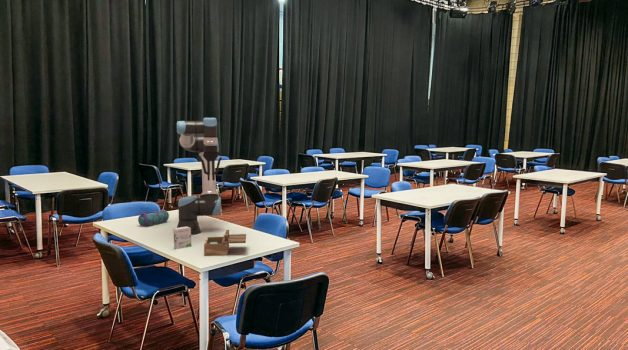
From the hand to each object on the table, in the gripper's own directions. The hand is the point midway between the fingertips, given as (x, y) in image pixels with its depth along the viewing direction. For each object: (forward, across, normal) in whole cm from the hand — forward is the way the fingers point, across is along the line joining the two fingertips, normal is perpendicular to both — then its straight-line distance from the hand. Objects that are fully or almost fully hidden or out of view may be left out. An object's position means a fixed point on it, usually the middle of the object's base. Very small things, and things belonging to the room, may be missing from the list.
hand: (211, 186), depth 274 cm
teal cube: (+34, +2, -15) cm, 37 cm away
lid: (+27, +13, -18) cm, 35 cm away
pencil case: (+35, -45, +60) cm, 82 cm away
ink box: (+35, -16, -6) cm, 39 cm away
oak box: (+34, +4, -18) cm, 39 cm away
